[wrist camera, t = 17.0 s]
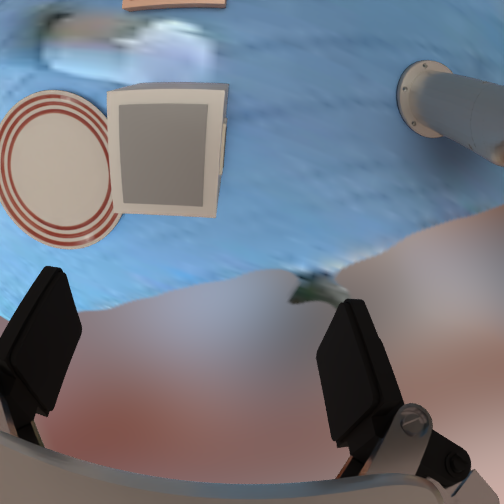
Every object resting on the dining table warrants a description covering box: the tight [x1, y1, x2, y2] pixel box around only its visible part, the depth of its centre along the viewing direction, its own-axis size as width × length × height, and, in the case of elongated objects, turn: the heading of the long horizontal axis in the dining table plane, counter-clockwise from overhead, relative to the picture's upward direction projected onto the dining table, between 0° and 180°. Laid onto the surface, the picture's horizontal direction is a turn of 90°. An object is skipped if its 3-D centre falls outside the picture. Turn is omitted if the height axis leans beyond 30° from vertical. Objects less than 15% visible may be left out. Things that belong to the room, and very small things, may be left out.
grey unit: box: [107, 82, 229, 218], centre depth 34 cm, size 13×14×12 cm
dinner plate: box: [0, 90, 122, 249], centre depth 40 cm, size 28×27×3 cm
